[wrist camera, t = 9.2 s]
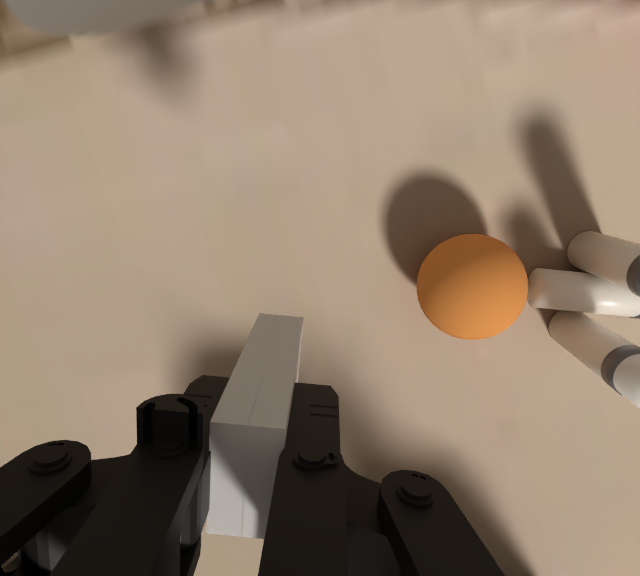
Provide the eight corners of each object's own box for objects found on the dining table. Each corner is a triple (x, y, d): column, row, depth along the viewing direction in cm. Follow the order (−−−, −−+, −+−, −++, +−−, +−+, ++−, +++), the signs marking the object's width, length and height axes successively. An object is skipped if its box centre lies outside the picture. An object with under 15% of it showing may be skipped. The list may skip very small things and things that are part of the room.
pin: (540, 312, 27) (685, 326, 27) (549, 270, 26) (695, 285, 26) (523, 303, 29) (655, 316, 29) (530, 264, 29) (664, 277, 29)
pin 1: (561, 267, 29) (654, 312, 20) (571, 228, 28) (671, 257, 20) (601, 271, 29) (709, 316, 20) (611, 232, 28) (728, 263, 20)
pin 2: (543, 341, 30) (624, 411, 22) (552, 305, 29) (639, 363, 21) (581, 345, 30) (675, 416, 22) (591, 309, 29) (693, 368, 21)
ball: (534, 346, 26) (452, 308, 31) (563, 246, 24) (471, 221, 29) (468, 368, 23) (388, 322, 28) (496, 254, 21) (404, 224, 26)
